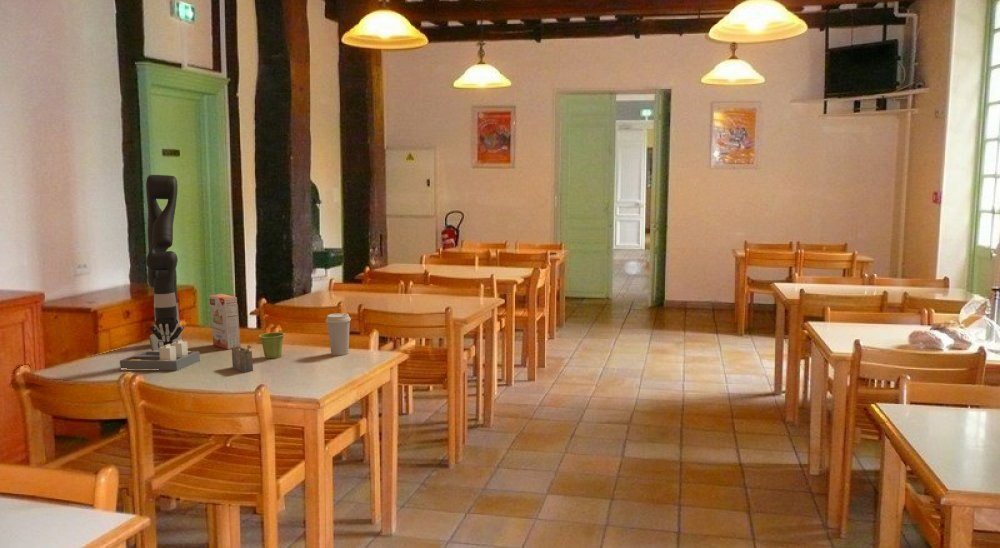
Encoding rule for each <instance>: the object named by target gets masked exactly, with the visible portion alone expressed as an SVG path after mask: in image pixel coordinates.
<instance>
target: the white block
mask: <svg viewBox="0 0 1000 548" xmlns="http://www.w3.org/2000/svg"><path fill="white" fill-rule="evenodd" d="M171 345H172V346H176V355H188V351H189V350H188V349H189V348H188V341H187V340H186V341H183V339H182V338H181V339H180V340H178V341H176V342H174V343H171Z"/></svg>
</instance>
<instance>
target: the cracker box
mask: <svg viewBox="0 0 1000 548" xmlns="http://www.w3.org/2000/svg"><path fill="white" fill-rule="evenodd" d="M209 306H210V316H211V317H210V319H211V332H212V333H211V334H212V344H213V345H214V346H216V347H219V348H222V349H225V350H228V351H230V350H232V347H239V349H240V347H241V336H240V321H239V320H240V319H239V307H238V297H236V296H234V295H233V296H232V295H229V294H224V293H217V294H210V295H209ZM241 348H242V347H241Z"/></svg>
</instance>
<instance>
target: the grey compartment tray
mask: <svg viewBox="0 0 1000 548" xmlns="http://www.w3.org/2000/svg"><path fill="white" fill-rule="evenodd" d="M176 359H177V360H160V352H159V351H152V350H144V351H141V352H139V353H136V354H134V355H131V356H128V357H126V358H124V359H120V360H119V366H120V367H119V369H121V368H127V369H159V370H178V371H180V370H182V369H185V368H186V366H187V367H189V366H191V365H193V363H194V364H195V363H198V362H200V361H201V357H200V351H199V350H198V351H197V350H196V351H191V350H188V355H176ZM188 365H189V366H188ZM184 367H185V368H184ZM181 368H182V369H181ZM179 369H180V370H179Z"/></svg>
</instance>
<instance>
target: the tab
mask: <svg viewBox="0 0 1000 548" xmlns="http://www.w3.org/2000/svg"><path fill="white" fill-rule="evenodd" d="M159 352H160V360H177V359H176V346H171V344H167V345H164V346H163V347H161V348H159Z"/></svg>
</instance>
